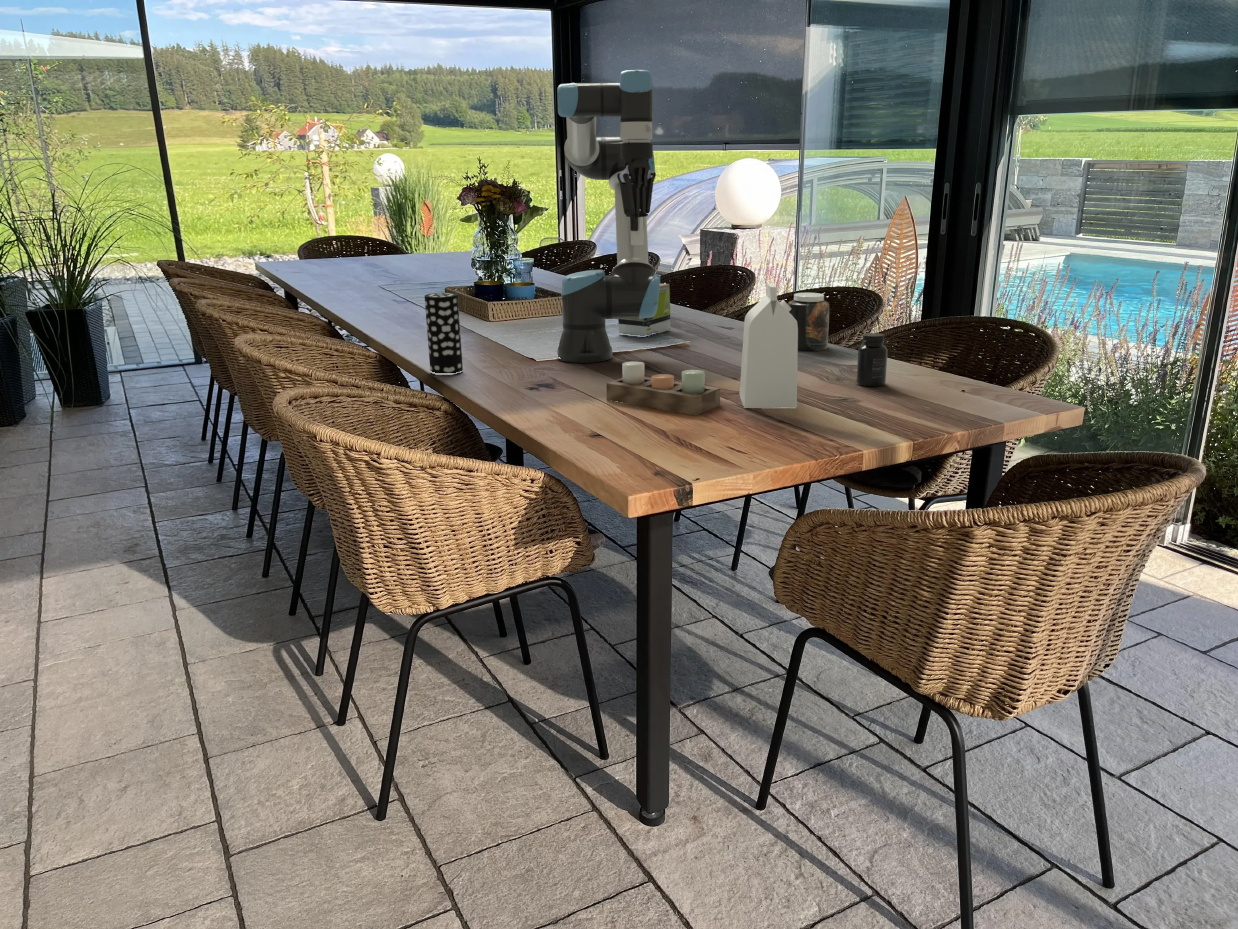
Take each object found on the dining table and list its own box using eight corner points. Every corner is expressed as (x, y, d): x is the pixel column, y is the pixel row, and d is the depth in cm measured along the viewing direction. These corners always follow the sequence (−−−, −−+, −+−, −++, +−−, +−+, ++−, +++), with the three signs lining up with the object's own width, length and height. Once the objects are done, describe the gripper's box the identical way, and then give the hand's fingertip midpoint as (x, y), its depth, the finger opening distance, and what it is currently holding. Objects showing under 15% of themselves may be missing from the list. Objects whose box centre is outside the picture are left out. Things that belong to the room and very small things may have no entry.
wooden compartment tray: (606, 400, 215) (606, 383, 214) (632, 391, 223) (631, 374, 222) (696, 415, 202) (696, 397, 201) (720, 405, 210) (720, 387, 208)
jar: (781, 350, 266) (783, 296, 261) (790, 342, 276) (792, 290, 272) (823, 352, 262) (826, 298, 257) (830, 344, 272) (833, 292, 267)
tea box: (644, 327, 302) (644, 281, 298) (671, 330, 297) (671, 283, 292) (617, 335, 291) (616, 287, 286) (644, 338, 285) (643, 289, 280)
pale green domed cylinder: (677, 395, 207) (677, 373, 205) (689, 390, 210) (689, 368, 209) (696, 398, 204) (697, 375, 202) (708, 393, 208) (709, 371, 206)
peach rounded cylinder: (647, 399, 212) (647, 377, 210) (659, 394, 216) (659, 373, 214) (665, 402, 209) (665, 380, 207) (678, 397, 213) (678, 375, 211)
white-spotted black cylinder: (469, 370, 247) (464, 293, 241) (451, 377, 240) (445, 298, 233) (442, 367, 250) (437, 292, 244) (424, 374, 243) (417, 296, 237)
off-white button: (618, 386, 216) (617, 364, 214) (630, 381, 219) (630, 360, 218) (636, 388, 213) (636, 367, 211) (648, 384, 217) (648, 363, 215)
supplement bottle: (886, 381, 229) (890, 332, 225) (884, 388, 222) (888, 337, 219) (857, 380, 231) (860, 331, 227) (854, 386, 225) (857, 336, 221)
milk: (739, 395, 218) (742, 281, 210) (789, 394, 218) (794, 281, 210) (744, 408, 207) (747, 289, 199) (796, 408, 207) (802, 288, 198)
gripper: (633, 141, 213) (634, 247, 221) (665, 141, 223) (665, 243, 231) (607, 141, 218) (608, 246, 225) (639, 141, 228) (640, 241, 235)
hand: (637, 244), depth 228 cm, fingers closed
